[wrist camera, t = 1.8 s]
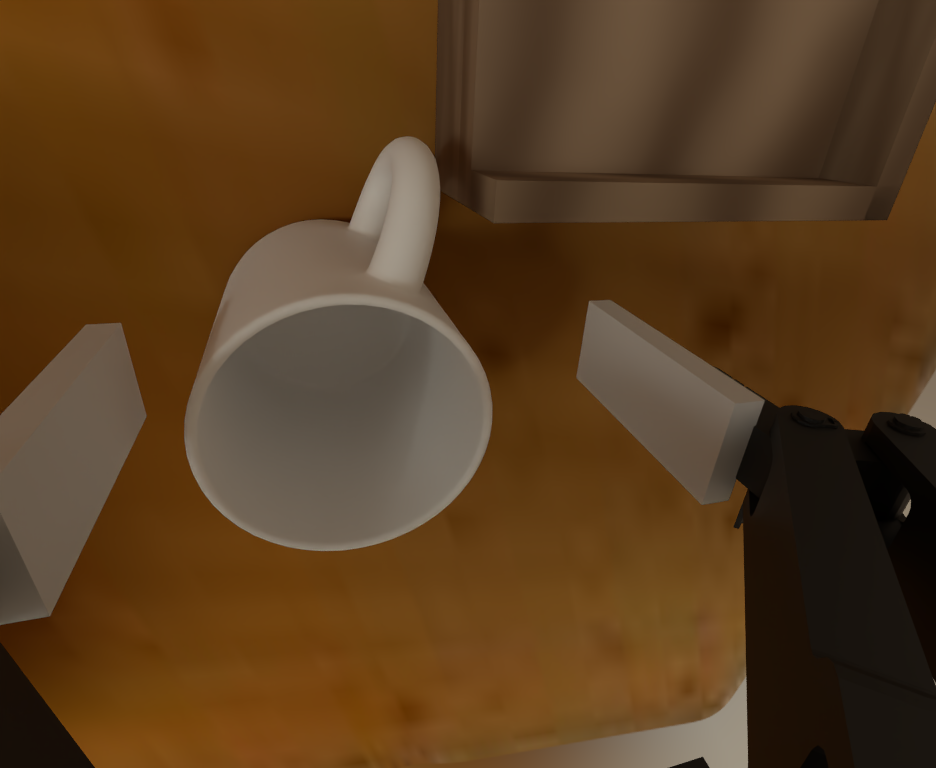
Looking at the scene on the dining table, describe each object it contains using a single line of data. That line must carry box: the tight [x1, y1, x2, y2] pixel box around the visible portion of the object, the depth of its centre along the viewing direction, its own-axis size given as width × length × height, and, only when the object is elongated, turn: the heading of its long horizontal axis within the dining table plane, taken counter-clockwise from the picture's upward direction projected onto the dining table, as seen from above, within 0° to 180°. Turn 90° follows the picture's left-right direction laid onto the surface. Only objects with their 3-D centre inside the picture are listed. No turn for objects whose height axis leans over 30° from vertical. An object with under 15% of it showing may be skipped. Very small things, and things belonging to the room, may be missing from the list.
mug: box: [184, 136, 492, 551], centre depth 18 cm, size 12×8×10 cm
